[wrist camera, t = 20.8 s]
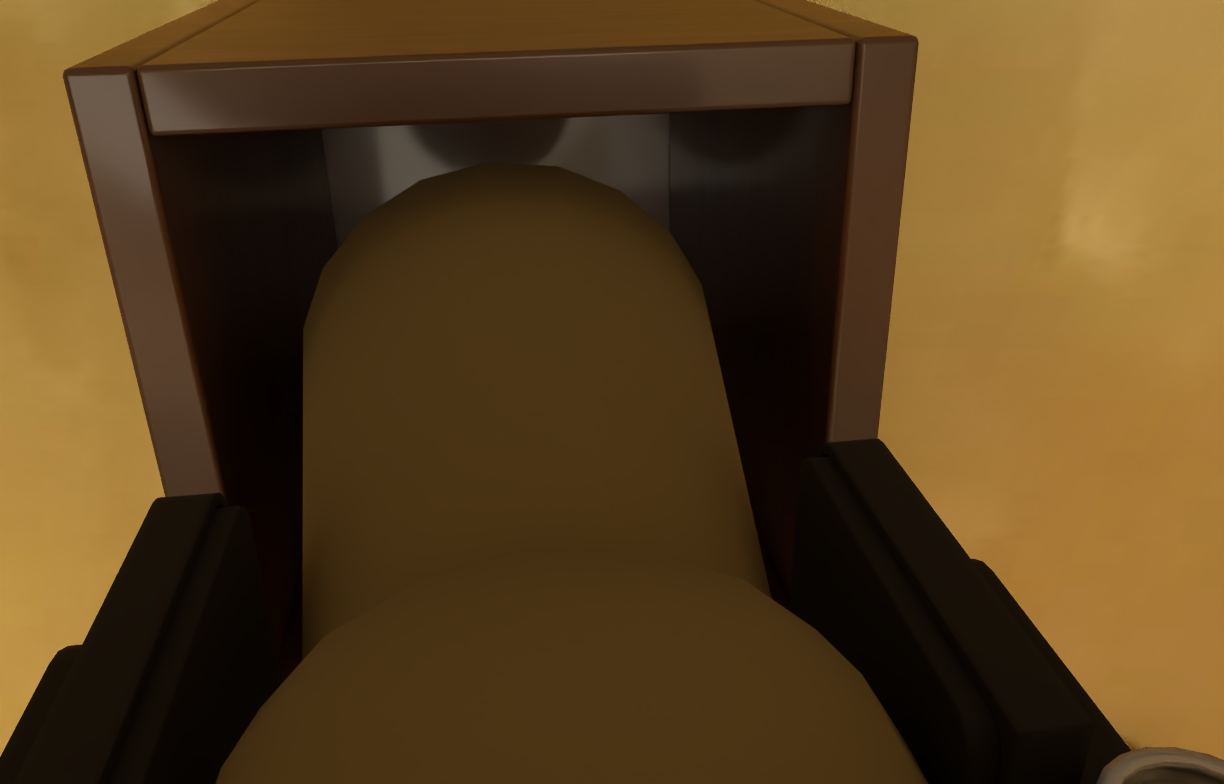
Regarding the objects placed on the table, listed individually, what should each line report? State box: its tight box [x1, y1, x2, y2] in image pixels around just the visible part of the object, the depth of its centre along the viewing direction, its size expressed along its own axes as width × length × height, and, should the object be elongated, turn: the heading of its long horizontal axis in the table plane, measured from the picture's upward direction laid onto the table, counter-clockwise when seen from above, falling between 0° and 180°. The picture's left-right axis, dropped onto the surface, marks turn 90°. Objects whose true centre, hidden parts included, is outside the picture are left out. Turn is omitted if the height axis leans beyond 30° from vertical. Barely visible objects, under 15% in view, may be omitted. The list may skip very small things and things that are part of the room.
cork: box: [216, 162, 929, 784], centre depth 10 cm, size 6×6×11 cm
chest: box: [63, 0, 918, 682], centre depth 20 cm, size 10×10×14 cm
